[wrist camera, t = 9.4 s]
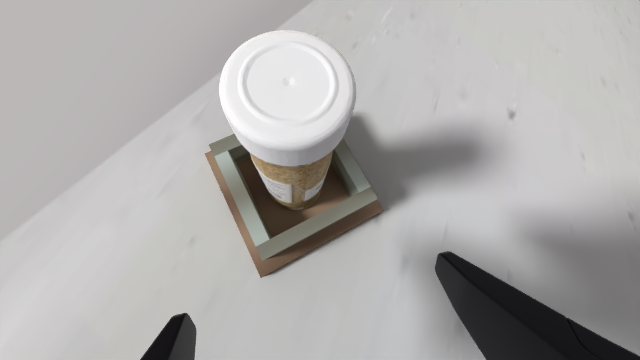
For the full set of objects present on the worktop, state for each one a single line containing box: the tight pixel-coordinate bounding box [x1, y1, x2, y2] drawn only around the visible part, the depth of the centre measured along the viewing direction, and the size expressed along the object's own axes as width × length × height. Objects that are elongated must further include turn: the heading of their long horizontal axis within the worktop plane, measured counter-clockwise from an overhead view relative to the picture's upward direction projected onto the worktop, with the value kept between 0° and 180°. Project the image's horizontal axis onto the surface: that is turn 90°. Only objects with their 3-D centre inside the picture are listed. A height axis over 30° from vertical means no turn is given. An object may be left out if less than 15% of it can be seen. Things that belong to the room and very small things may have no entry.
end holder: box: [205, 134, 383, 277], centre depth 20 cm, size 11×11×4 cm
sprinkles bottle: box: [219, 30, 356, 210], centre depth 15 cm, size 5×5×13 cm
